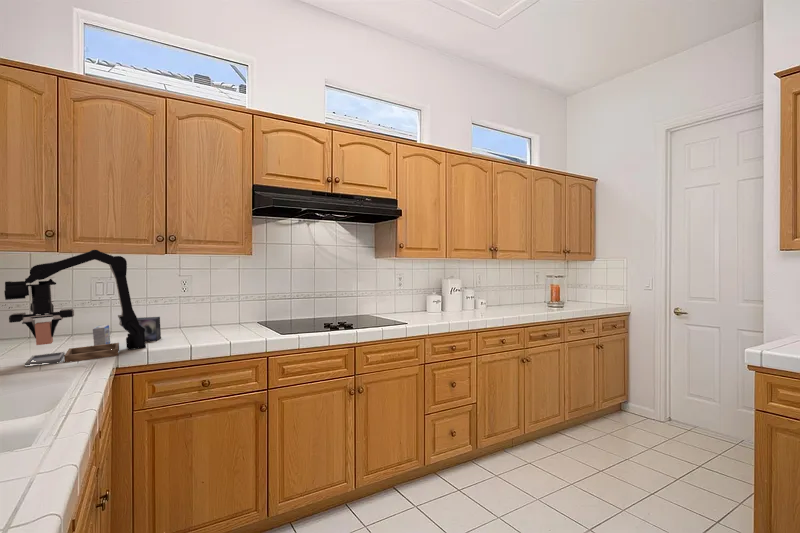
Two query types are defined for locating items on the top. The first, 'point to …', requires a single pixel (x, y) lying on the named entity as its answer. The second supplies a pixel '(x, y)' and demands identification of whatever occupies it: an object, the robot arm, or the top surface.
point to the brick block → (43, 333)
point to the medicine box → (101, 335)
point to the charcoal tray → (46, 358)
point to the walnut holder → (91, 352)
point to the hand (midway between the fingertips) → (44, 337)
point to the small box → (151, 328)
